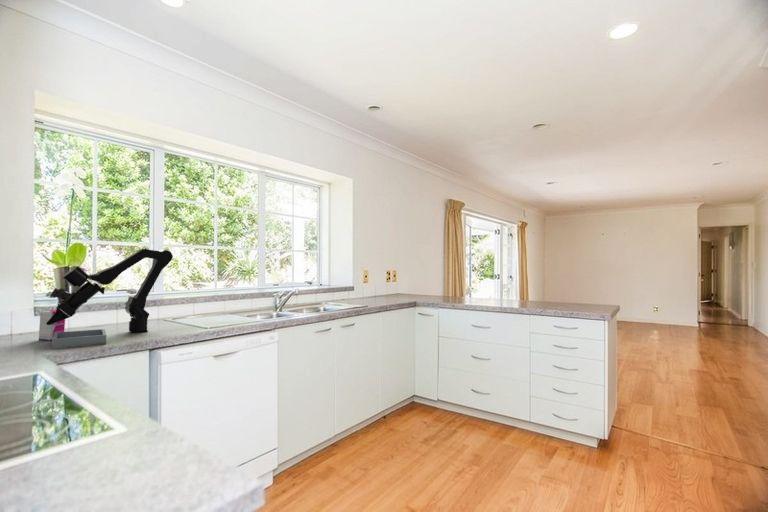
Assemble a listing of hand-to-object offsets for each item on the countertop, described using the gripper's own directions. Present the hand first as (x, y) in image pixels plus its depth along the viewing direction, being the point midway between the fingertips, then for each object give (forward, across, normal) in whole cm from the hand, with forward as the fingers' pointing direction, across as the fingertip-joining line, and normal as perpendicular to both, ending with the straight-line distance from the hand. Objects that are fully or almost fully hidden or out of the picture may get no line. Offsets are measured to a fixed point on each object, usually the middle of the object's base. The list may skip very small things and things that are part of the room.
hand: (47, 323), depth 158 cm
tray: (-3, +13, +12) cm, 18 cm away
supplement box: (+4, 0, +6) cm, 7 cm away
